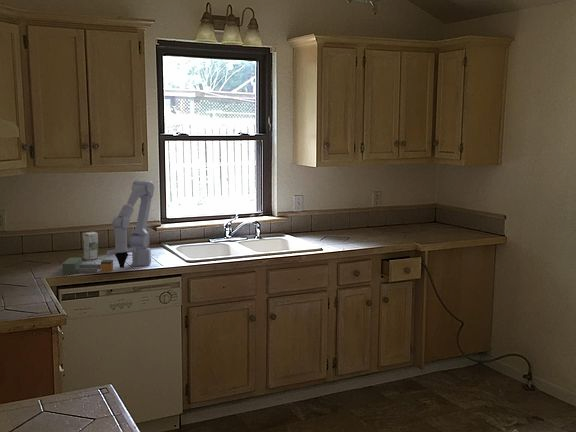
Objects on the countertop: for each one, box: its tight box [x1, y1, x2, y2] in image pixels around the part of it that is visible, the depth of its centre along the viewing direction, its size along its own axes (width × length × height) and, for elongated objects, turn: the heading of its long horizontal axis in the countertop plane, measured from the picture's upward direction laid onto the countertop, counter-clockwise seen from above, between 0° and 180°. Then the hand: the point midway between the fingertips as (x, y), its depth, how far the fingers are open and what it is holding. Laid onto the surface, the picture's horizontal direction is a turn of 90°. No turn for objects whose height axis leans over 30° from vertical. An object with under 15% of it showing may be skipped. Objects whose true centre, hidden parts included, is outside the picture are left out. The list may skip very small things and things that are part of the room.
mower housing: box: [61, 257, 101, 275], centre depth 305 cm, size 16×14×5 cm
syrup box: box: [82, 231, 99, 261], centre depth 331 cm, size 6×6×14 cm
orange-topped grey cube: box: [100, 259, 114, 272], centre depth 306 cm, size 5×5×5 cm
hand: (121, 267), depth 307 cm, fingers closed
